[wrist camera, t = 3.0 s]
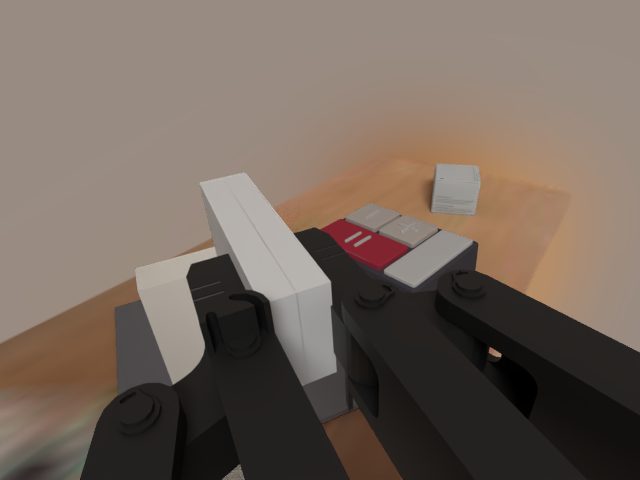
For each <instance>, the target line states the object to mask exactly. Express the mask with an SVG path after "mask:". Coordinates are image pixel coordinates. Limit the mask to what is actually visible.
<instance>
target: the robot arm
mask: <svg viewBox="0 0 640 480" xmlns="http://www.w3.org/2000/svg"><path fill="white" fill-rule="evenodd" d="M199 184H200V188H201V192H202V196H203V201H204V205H205V209H206V213H207V217H208V221H209V225H210V230H211V234H212V238H213V242H214V246H215V251H216V254H217V257H214V258H210V259H207V260H203V261H200V262H196V263H193V264H191V265H190V268H189V271H188V273H187V276H186V279H187V282H188V286H189V289H190V292H191V296H192V299H193V303H194V306H195V310H196V313H197V317H198V320H199V325H200V329H201V332H202V335H203V339H204V342H205V350H204V354H203V356H202V358H201V360H200V362H199V364H198V365H197V366H196V367H195V368H194V369H193V370H192V371H191V372H190V373H189V374H188V375H186V376H185V377H184V378H182V379H181V380H179V381H178V382H176V383H175V384H173V385H172V386H168V385H165V384H162V383H144V384H141V385H138V386H135V387H132V388H130V389H128V390H126V391H125V392H123V393H122V394H120V395H118V396H117V397H115V399H114V400H113V401H112V402H111V403H110V404H109V405H108V406H107V407H106V408H105V409H104V410H103V412H102V414H101V416H100V418H99V420H98V422H97V425H96V428H95V431H94V435H93V438H92V441H91V445H90V448H89V451H88V455H87V458H86V461H85V465H84V468H83V471H82V475H81V478H80V480H222V479H223V478H224V477H225V476H226V475H227V474H229V473H230V472H231V471H232V470H233V469H234V468H235V467H237V466H238V465H239V464H240V465H241V468H242V472H243V475H244V478H245V480H350V479H349V477H348V475H347V473H346V471H345V469H344V467H343V465H342V463H341V461H340V459H339V458H338V456H337V454H336V452H335V450H334V448H333V446H332V444H331V442H330V440H329V438H328V436H327V434H326V432H325V430H324V428H323V426H322V424H321V422H320V420H319V418H318V416H317V414H316V412H315V410H314V408H313V406H312V404H311V402H310V400H309V399H308V397H307V395H306V393H305V391H304V389H303V387H302V386H303V385H306V384H308V383H311V382H313V381H316V380H318V379H321V378H323V377H325V376H328V375H330V374H333V373H335V372H337V369H336V357H337V359H338V360H339V362H340V363H341V365H342V366H343V368H344V370H345V388H346V403H347V406H348V409H349V411H350V410H352V409H353V399H354V400H355V402H356V404H357V405H358V407H359V408H360V410H361V412H362V413H363V415H364V417H365V418H366V420H367V422H368V423H369V425H370V426H371V428H372V430H373V431H374V433H375V435H376V436H377V438H378V440H379V441H380V443H381V444H382V446H383V448H384V449H385V451H386V453H387V454H388V456H389V458H390V459H391V461H392V462H393V464H394V466H395V467H396V469H397V471H398V472H399V474H400V476H401V477H402V479H403V480H640V352H638V351H636V350H634V349H632V348H630V347H628V346H626V345H624V344H622V343H620V342H618V341H616V340H614V339H612V338H610V337H608V336H606V335H604V334H602V333H600V332H598V331H596V330H594V329H592V328H590V327H588V326H586V325H584V324H582V323H580V322H578V321H576V320H574V319H572V318H570V317H568V316H566V315H565V314H563V313H561V312H558V311H557V310H554V309H553V308H551V307H548V306H547V305H545V304H543V303H541V302H539V301H537V300H535V299H533V298H531V297H529V296H527V295H525V294H523V293H521V292H519V291H517V290H515V289H513V288H511V287H509V286H507V285H505V284H503V283H501V282H499V281H497V280H495V279H493V278H491V277H489V276H487V275H485V274H482V273H480V272H477V271H472V270H464V269H462V270H452V271H450V272H447V273H445V274H443V275H442V276H441V277H440V278H439V279H438V282H437V289H436V290H433V291H423V292H413V293H402V292H401V291H400V290H399V289H398V288H397V287H395V286H394V285H393V284H391V283H389V282H386V281H383V280H380V279H371V278H370V277H369V276H368V275H367V274H366V273H365V272H364V271H363V270H362V268H361V267H360V266H359V265H358V264H357V263H356V262H355V261H354V260H353V259H352V258H351V257H350V256H349V255H348V253H345V250H344V249H343V248H342V247H341V246H340V245H338V243H337V242H336V241H335V240H334V238H333V237H332V236H331V235H330V234H328V233H326V232H324V231H322V230H319V229H317V228H311V229H308V230H304V231H301V232H297V233H294V234H293V233H292V232H291V230H290V229H289V228H288V226H287V225H286V224H285V223H284V221H283V220H282V219H281V218H280V216H279V215H278V214H277V212H276V211H275V210H274V209H273V207H272V206H271V205H270V204H269V202H268V201H267V200H266V198H265V197H264V196H263V195H262V193H261V192H260V191H259V190H258V188H257V187H256V186H255V184H254V183H253V182H252V181H251V179H250V178H249V177H248V175H247V174H246V173H240V174H236V175H231V176H227V177H222V178H218V179H213V180H209V181H204V182H200V183H199ZM490 347H491V348H493V349H495V350H496V351H498V352H499V353H501V354H502V356H501V357H495V356H493V355H491V354H490V353H489V348H490Z"/></svg>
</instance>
